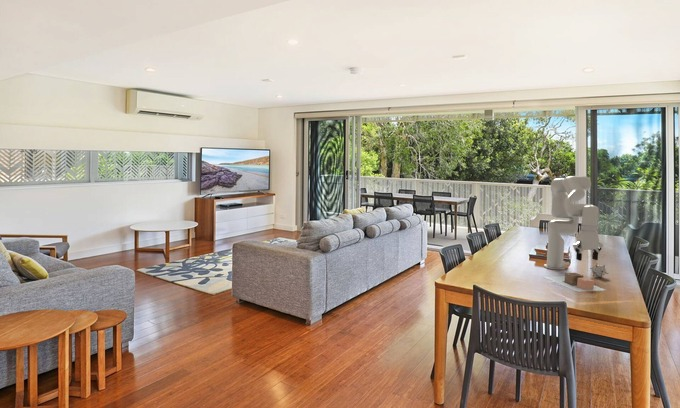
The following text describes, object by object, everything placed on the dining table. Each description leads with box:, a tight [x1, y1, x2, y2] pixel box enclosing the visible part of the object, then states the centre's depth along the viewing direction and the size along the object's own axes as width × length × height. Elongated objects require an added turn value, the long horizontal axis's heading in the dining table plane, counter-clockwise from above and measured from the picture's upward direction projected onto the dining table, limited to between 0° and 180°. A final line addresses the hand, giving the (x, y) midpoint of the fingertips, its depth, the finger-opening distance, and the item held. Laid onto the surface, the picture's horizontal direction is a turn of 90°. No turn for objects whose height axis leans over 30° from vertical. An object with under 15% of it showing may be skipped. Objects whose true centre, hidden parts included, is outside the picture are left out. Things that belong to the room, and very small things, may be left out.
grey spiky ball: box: [589, 263, 609, 279], centre depth 254 cm, size 9×8×10 cm
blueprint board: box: [543, 275, 606, 292], centre depth 237 cm, size 18×28×1 cm, turn 9°
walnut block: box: [564, 272, 584, 285], centre depth 237 cm, size 6×6×5 cm
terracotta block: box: [577, 277, 595, 290], centre depth 228 cm, size 6×6×5 cm
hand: (586, 259), depth 227 cm, fingers open, 9 cm apart
